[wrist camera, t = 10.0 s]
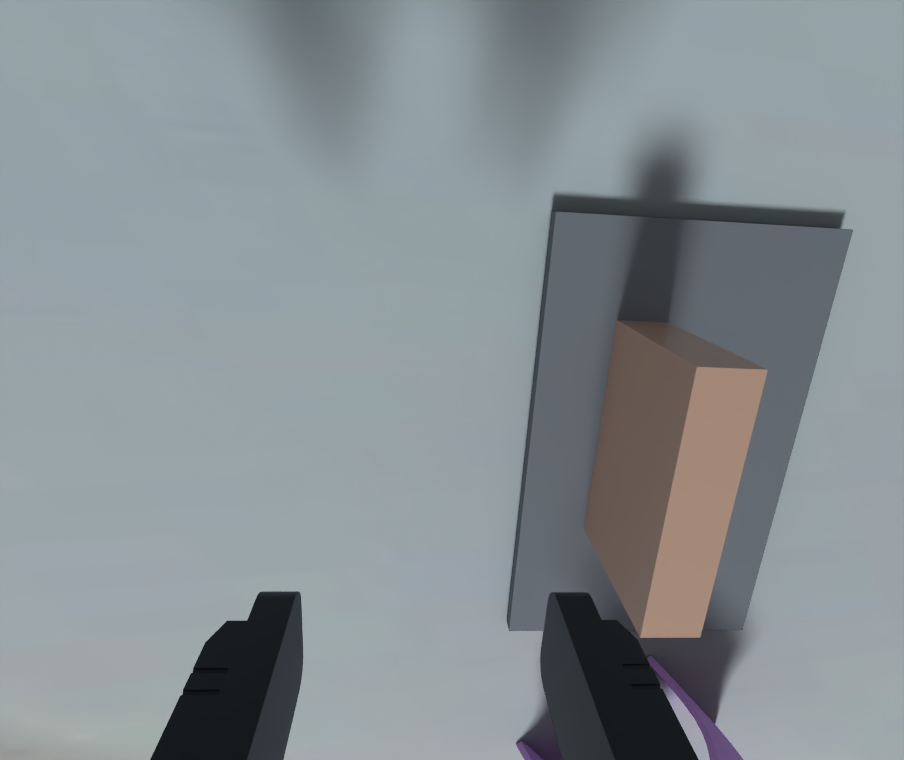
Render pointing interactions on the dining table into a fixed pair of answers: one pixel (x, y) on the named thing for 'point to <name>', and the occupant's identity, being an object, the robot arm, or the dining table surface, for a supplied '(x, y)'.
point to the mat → (696, 311)
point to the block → (669, 471)
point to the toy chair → (719, 747)
